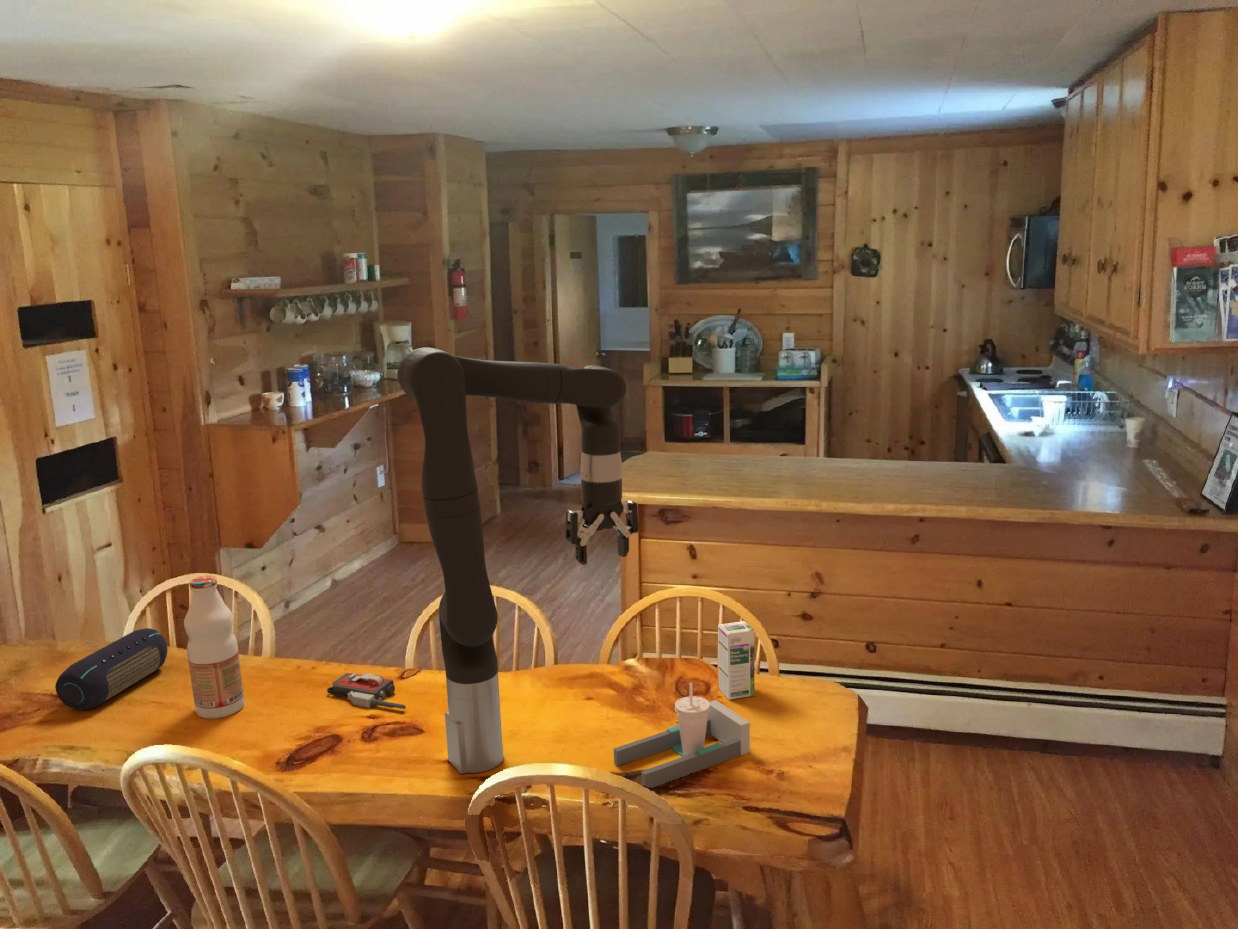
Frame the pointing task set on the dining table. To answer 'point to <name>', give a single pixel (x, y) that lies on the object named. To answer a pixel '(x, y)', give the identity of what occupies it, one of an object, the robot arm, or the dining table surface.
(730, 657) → the syrup box
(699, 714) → the smoothie
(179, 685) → the dining table surface
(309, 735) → the dining table surface
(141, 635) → the portable speaker
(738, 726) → the guide channel
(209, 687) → the fruit juice
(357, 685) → the walkie-talkie
